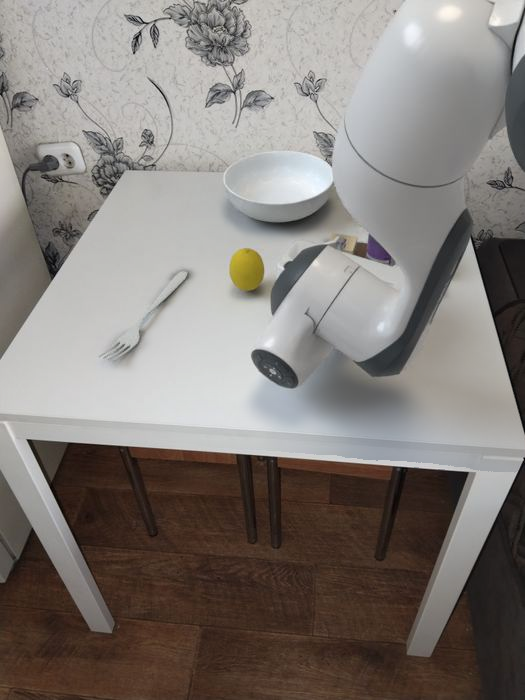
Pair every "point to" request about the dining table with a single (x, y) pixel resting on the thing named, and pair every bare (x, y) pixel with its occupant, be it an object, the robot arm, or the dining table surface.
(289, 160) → the serving bowl
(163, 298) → the fork
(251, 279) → the lemon
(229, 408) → the dining table surface
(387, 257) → the pill bottle
